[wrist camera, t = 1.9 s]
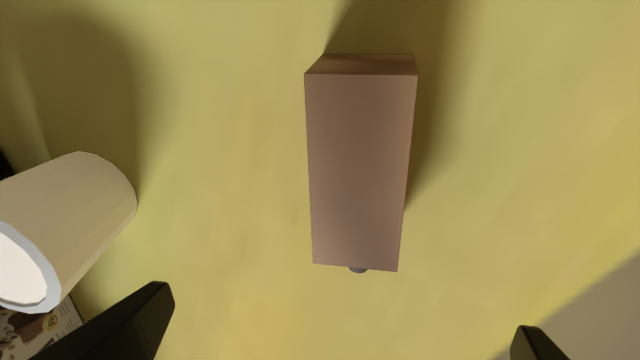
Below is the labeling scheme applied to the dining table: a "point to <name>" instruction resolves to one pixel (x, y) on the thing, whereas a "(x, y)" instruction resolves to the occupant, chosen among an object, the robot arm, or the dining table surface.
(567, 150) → the dining table surface
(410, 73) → the walnut plug
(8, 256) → the short tan cylinder
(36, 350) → the coffee box
